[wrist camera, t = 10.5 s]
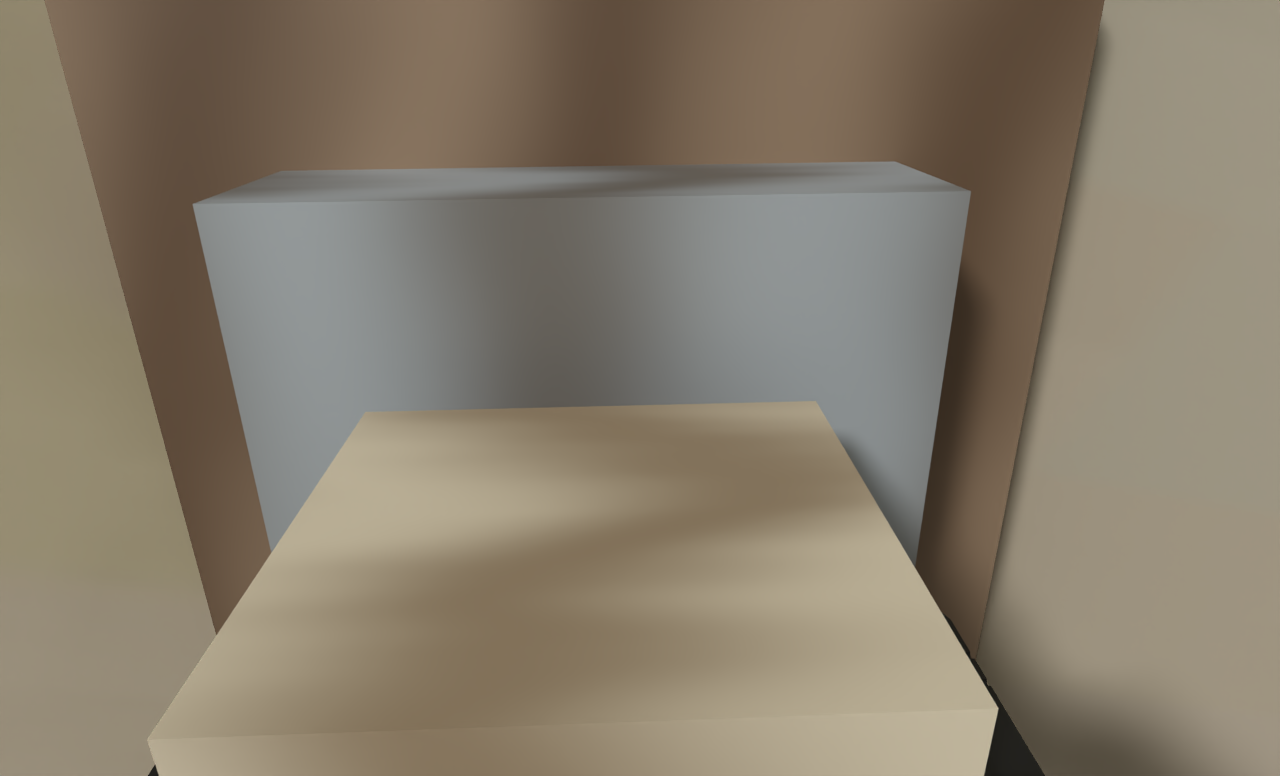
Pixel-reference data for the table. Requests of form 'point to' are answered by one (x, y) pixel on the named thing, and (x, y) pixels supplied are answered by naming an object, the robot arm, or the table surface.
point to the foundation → (584, 230)
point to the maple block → (585, 610)
